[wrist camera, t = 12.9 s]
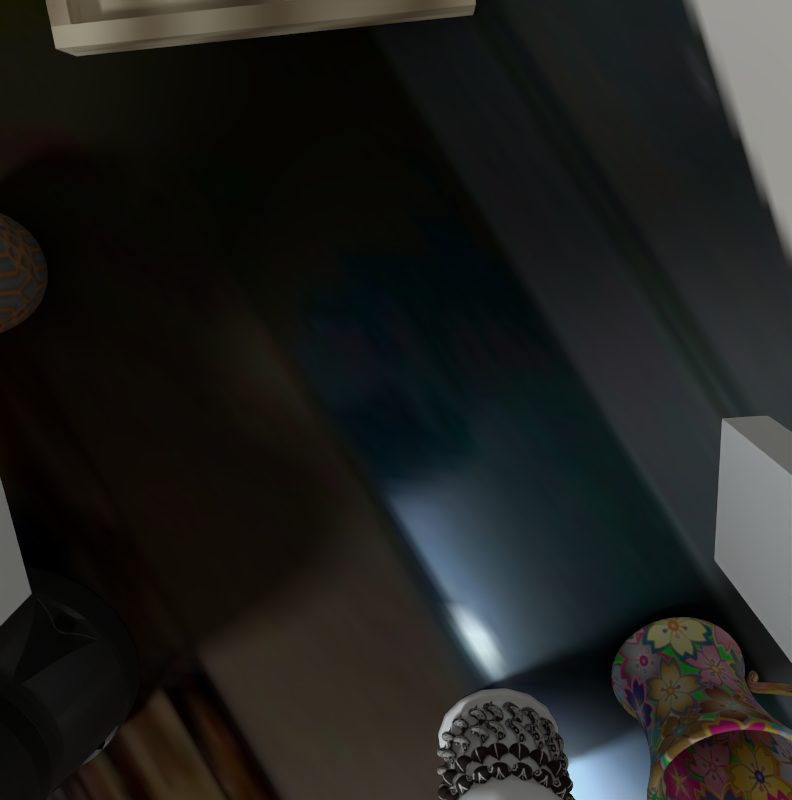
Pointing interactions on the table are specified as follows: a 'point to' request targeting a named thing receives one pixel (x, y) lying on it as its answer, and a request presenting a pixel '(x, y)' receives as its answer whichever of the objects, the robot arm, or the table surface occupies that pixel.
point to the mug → (702, 714)
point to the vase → (19, 273)
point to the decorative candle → (502, 749)
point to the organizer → (222, 20)
